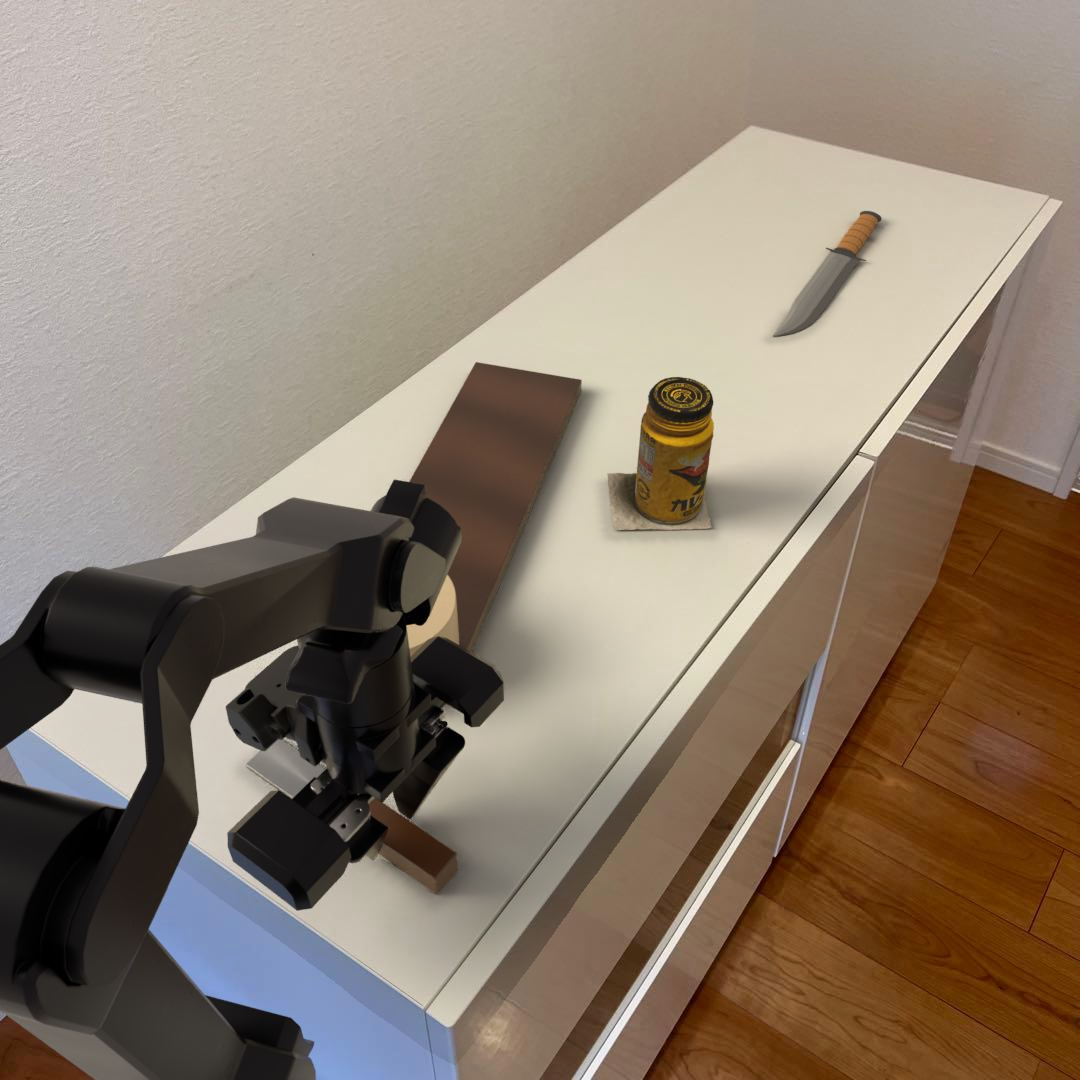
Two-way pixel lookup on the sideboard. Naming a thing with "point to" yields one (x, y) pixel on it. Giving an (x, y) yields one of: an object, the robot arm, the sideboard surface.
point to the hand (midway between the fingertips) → (388, 833)
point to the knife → (828, 276)
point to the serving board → (493, 473)
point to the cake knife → (403, 838)
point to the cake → (437, 620)
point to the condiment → (668, 461)
